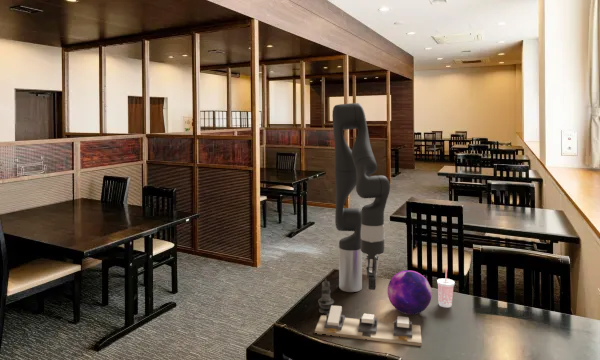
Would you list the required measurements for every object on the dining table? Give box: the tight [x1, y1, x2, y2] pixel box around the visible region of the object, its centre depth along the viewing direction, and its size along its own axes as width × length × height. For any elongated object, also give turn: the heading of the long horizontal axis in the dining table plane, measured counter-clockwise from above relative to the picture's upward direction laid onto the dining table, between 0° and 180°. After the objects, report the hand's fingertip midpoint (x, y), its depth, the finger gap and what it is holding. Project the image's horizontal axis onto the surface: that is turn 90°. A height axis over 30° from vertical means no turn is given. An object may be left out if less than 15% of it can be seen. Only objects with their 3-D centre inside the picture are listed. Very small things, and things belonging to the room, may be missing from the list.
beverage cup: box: [436, 267, 456, 308], centre depth 148 cm, size 6×6×14 cm
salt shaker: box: [317, 278, 335, 315], centre depth 145 cm, size 6×6×12 cm
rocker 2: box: [361, 313, 376, 323], centre depth 132 cm, size 8×4×1 cm, turn 166°
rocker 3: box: [396, 315, 410, 328], centre depth 129 cm, size 8×4×1 cm, turn 166°
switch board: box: [314, 313, 423, 347], centre depth 131 cm, size 11×33×4 cm, turn 75°
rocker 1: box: [327, 304, 343, 326], centre depth 134 cm, size 8×4×1 cm, turn 165°
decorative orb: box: [387, 270, 433, 315], centre depth 143 cm, size 15×15×15 cm
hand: (372, 288), depth 132 cm, fingers closed
